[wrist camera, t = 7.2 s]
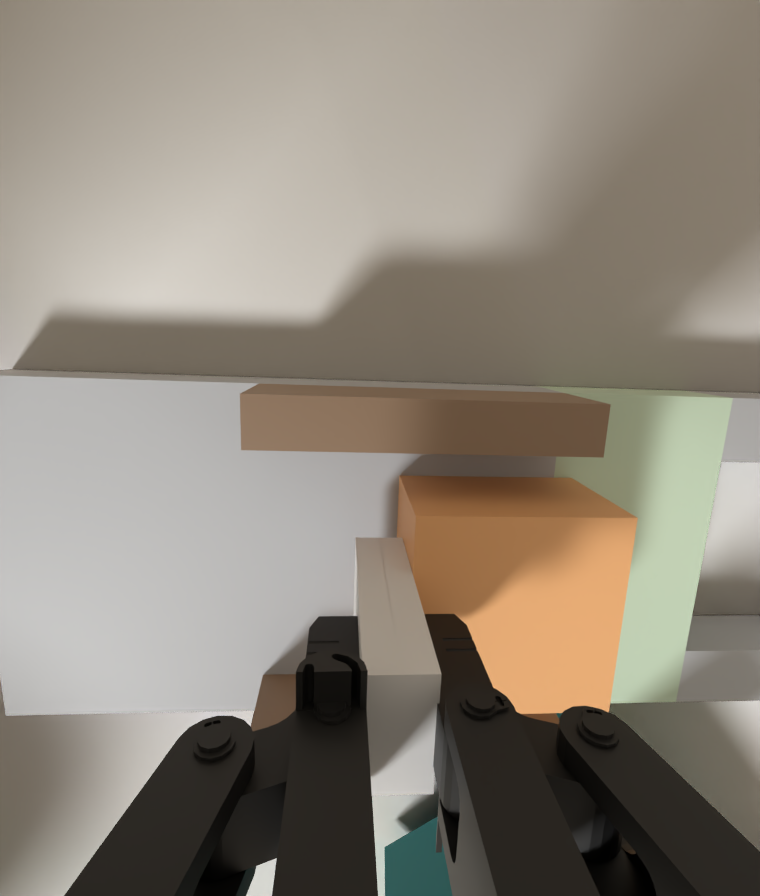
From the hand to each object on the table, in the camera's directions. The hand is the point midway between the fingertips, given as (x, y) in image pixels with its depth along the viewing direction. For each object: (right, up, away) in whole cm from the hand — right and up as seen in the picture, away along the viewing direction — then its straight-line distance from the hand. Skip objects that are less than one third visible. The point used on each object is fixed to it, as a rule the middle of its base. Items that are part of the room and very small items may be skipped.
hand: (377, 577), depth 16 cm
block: (+4, 0, +2) cm, 4 cm away
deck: (+3, +1, +4) cm, 5 cm away
